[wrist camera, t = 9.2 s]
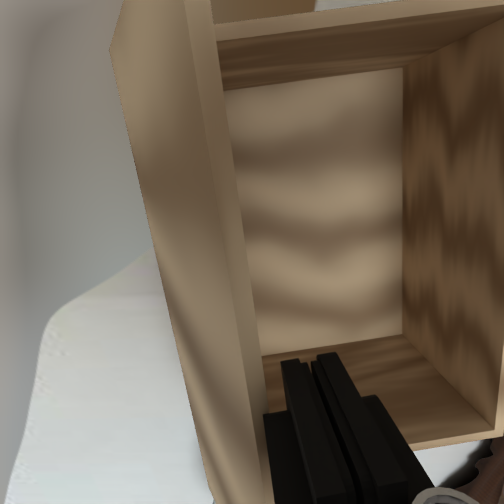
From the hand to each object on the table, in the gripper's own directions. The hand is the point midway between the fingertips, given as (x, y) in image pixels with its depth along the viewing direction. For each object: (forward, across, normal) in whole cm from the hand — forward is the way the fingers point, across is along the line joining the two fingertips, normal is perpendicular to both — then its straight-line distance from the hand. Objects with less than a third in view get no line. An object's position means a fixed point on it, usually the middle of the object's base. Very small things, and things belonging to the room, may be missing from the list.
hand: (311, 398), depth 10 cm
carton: (+20, -4, 0) cm, 20 cm away
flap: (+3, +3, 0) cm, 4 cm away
